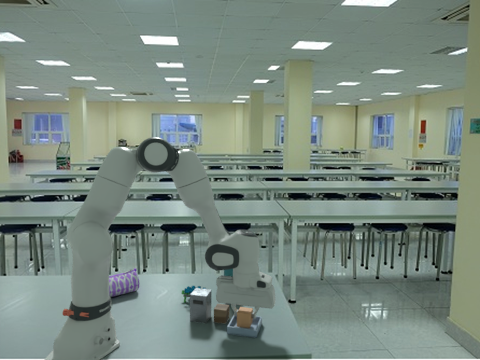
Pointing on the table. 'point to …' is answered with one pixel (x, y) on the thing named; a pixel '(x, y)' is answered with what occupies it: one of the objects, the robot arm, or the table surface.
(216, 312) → the walnut block
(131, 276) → the pencil case
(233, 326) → the tray
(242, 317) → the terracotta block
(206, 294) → the box
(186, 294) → the gear
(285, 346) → the table surface
